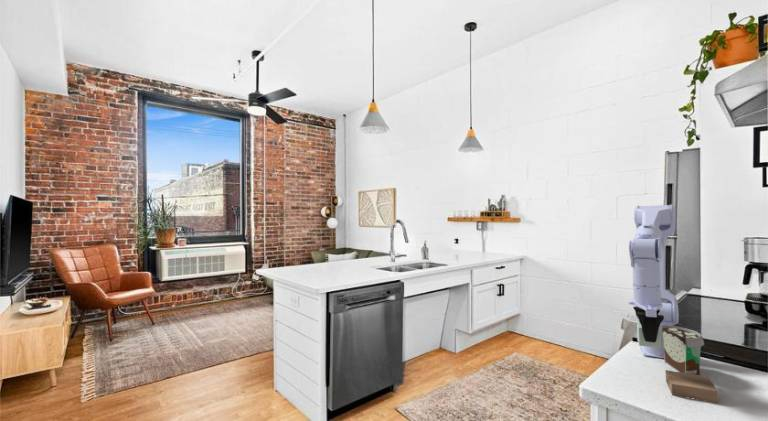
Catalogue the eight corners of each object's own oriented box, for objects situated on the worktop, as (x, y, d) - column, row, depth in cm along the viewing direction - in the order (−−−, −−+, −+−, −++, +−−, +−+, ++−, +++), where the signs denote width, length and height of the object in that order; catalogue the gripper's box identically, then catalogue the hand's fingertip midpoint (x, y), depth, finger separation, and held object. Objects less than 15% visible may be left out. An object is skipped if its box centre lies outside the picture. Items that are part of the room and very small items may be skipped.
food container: (718, 381, 89) (716, 340, 89) (689, 379, 90) (687, 339, 90) (687, 361, 101) (685, 325, 101) (661, 360, 102) (660, 324, 102)
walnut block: (666, 382, 90) (665, 370, 90) (708, 389, 86) (707, 376, 86) (672, 396, 83) (671, 383, 83) (718, 405, 79) (718, 391, 79)
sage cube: (637, 340, 96) (636, 323, 96) (658, 342, 94) (657, 325, 94) (639, 345, 92) (638, 327, 92) (661, 348, 90) (660, 330, 90)
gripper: (625, 279, 102) (627, 328, 101) (630, 289, 89) (632, 345, 89) (657, 281, 98) (659, 331, 98) (666, 291, 85) (668, 349, 85)
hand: (648, 338), depth 93 cm, fingers closed on sage cube, 4 cm apart
